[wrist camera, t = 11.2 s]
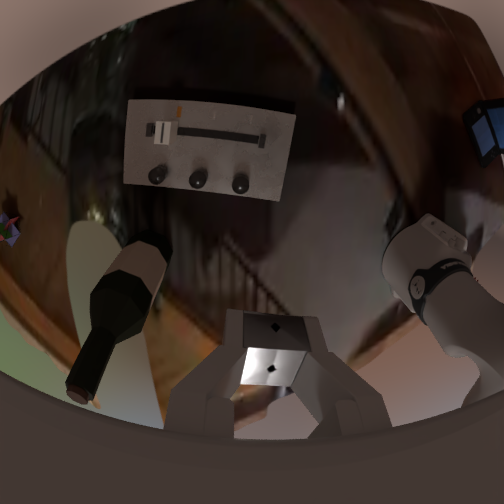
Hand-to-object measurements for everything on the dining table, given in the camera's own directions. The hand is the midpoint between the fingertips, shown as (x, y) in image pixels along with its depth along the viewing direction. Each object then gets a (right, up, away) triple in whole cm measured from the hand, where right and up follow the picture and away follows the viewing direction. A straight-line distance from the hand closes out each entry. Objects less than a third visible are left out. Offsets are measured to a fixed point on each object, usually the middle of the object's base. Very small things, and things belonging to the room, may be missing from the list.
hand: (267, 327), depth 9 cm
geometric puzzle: (-51, +9, +33) cm, 62 cm away
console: (-7, +18, +29) cm, 35 cm away
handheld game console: (+46, +27, +26) cm, 59 cm away
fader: (-12, +19, +25) cm, 34 cm away
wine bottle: (-18, +3, +37) cm, 42 cm away
